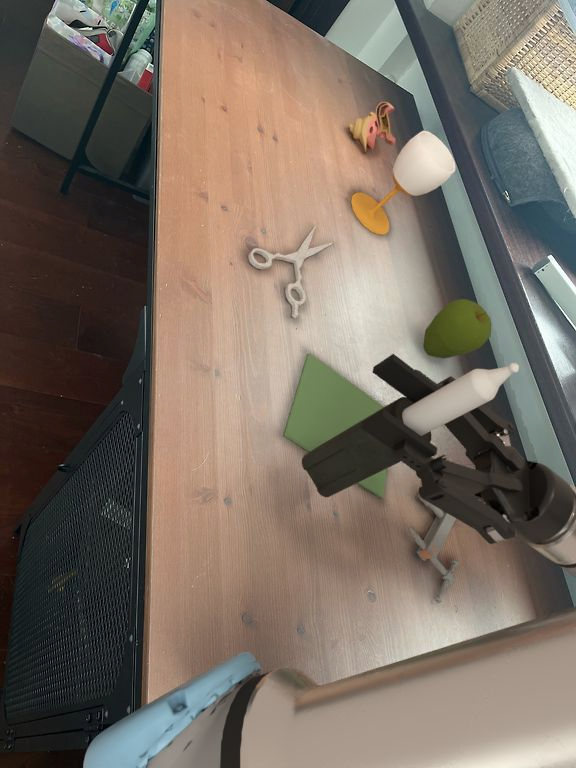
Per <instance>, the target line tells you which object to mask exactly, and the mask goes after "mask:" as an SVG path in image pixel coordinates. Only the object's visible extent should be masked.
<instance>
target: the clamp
mask: <svg viewBox="0 0 576 768" xmlns="http://www.w3.org/2000/svg"><path fill="white" fill-rule="evenodd" d="M441 494H442V493H441ZM417 497H418V498H419V499H420V501H421V502H422V503H423V504H424V506H425V507H429V508H430V509H431V510H432V512H433V513H434V515H436V516H435V518H434V520H433V521H432V523H431V525H430V527H429V529H428V530H427V532H426V534H425V536H424V538H423V539H422V537H421V536H420V535H419V534H417V532H415V530H413V528H412V527H411V526H410V527H408V528H407V531H408V532H409V534H410V535H411V537H412V538H413V540H414V541H415V543H416V544H417V545H418V548H417V550H416V554H417V555H418V557H419V558H420V559H421V560H422V561H423V562H426V561H428V560H430V561H431V562H432V564H433V565H434V566H435V567H436V569H437V570H438V571H439V572H440V574H441V575H440V577H441V578H442V579H443V582H442V584H441V585H442V586H441V587H440V590H439V592H438V594H437V596H435V597H434V598H433V601H434V603H436V604H437V605H440V604H442V603H443V599H442V598H443V596H444V594H445V591H446V589H447V587H448V585H452V584H454V583H455V581H456V577H455V575H454V572H455V569H456V568H457V567H459V565H460V563H459V562H458V560H455V559H453V560H451V562H450V564H451V566H450V568H449V569H446V567H445V566H444V564H442V562H441V561H440V560H439V558H438V555H439V553H440V551H441V549H442V547H443V545H444V544H445V541H446V540H447V538H448V536H449V534H450V531H451V530H452V529H453V528H454V526H455V525H454V524H455V522H456V520H457V519H456V518H454V517H453V516H451V515H449V514H448V513H446V512H444V511H442V510H441V509H439V508H437V507H436V506H434V505H432V504H430V503H429V502H427V501H425V500H424V499H422V498H421V497H420V495H419V492H418V493H417Z"/></svg>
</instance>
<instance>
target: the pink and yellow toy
mask: <svg viewBox="0 0 576 768" xmlns="http://www.w3.org/2000/svg"><path fill="white" fill-rule="evenodd" d="M375 109H376V110H375V112H373V111H370V112H369V113H368V115H366V116H365V117H363V118H362V117H357V118H356V119H355V121H354V122H353V123H349V131H350V132H351V133H352V136H353V139H354V140H355V141H358V140H359V141H360V143H361V145H362V147H363V150H364V154H366V152H367V145H368V146H369V148H370V149H371V150H372V151H373V150H374V148H375V142H376V138H377V137H381V138H382V139H384V141H385V143H386V144H388V145H390V146H395V144H396V141H397V139H396V137H394V136H393V134H392V133H391V123H390V119H389V114H392V113H393V112H394V111H395V109H396V108H395V107H394V106H393V105H392V104H391V103H389V102H387V101H381V102H379V104H378V105H377V106H376V108H375Z"/></svg>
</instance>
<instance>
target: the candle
mask: <svg viewBox="0 0 576 768" xmlns="http://www.w3.org/2000/svg"><path fill="white" fill-rule="evenodd" d="M519 370H520V365H519V364H518V363H516V362H510V364H508V365H506V366H502V367H497V368H493V369H492V368H491V369H486V368H474V369H472V370H470V371H468V372H467V373H465V374H463V375H461V376H460V377H458V378H455V379H456V380H455V381H453V382H451V383H449V384H448V385H446V386H444V387H442V388H441V389H439V390H437V391H435V392H434V393H432V394H430V395H428V396H427V397H425V398H423V399H421V400H420V401H418V402H416V403H414V402H413V401H411V400H410V399H408V398H406V397H405V396H401V397H398V398H397V399H395V400H394V401H392V402H391V403H388V404H387V405H385V406H384V408H382V409H380V410H379V411H381V410H383V409H384V410H385V411H387V412H388V413H390V414H391V415H392V416H394V417H395V418H397V419H398V420H399V421H401V422H402V423H403V424H405V425H406V426H408V427H409V428H410V429H412V430H413V431H415V432H416V433H417V434H419V435H420V436H422V437H423V438H424V439H426V440H427V441H429V442H430V443H431V441H432V438H433V435H432V432H433V431H434V430H436V429H438V428H439V427H442V426H445V425H444V424H446V423H448V422H449V421H451V420H453V419H455V418H457V417H459V416H461V415H463V414H465V413H467V412H469V411H471V410H473V409H475V408H477V407H479V406H480V405H482V404H486V403H488V402H490V401H492V400H494V399H495V397H496V395H497V393H498V391H499V389H500V387H501V386H502V385H503V384H504V383H505V382H506V381H507V379H509V377H510V376H511V375H512V374H516V373H518V372H519ZM379 411H377V412H375V413H373V414H372V415H370V416H368V417H367V418H365V419H363V420H362V421H364V420H366V419H368V418H369V417H371V416H373V415H374V414H376V413H378V412H379ZM362 421H360V422H358V423H357V424H355V425H353V426H352V427H350V428H348V429H347V430H345V431H343V432H341V433H340V434H338V435H336V436H335V437H333V438H331V439H330V440H328V441H326V442H325V443H323V444H321V445H320V446H318V447H316V448H315V449H313V450H312V451H310V452H307V453H306V454H304V455H303V456H302V457H301V466H302V468H303V470H304V471H306V473H307V475H308V476H309V478H310V479H311V481H312V483H313V484H314V486H315V488H316V492H317V493H318V494H319V495H320V496H321V497H323V498H330V497H332V496H334V495H336V494H337V493H340V492H342V491H344V490H346V489H348V488H350V487H352V486H354V485H356V484H358V482H360V481H362V480H364V479H366V478H368V477H370V476H372V475H374V474H376V473H378V472H381V471H383V470H385V469H387V470H388V469H389V468H392V466H395V465H397V464H399V463H401V462H402V461H400V460H398V459H397V458H396V457H395V456H394V454H393V450H392V449H391V448H389V447H388V446H386V445H385V444H383V443H382V442H380V441H379V440H378V439H376V438H375V437H373V436H372V435H370V434H369V433H367V432H366V431H365V430H363V429H362V428H361V426H362Z"/></svg>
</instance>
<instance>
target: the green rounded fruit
mask: <svg viewBox="0 0 576 768" xmlns="http://www.w3.org/2000/svg"><path fill="white" fill-rule="evenodd" d="M492 326H493V325H492V320H491V317H490V315H489V314H488V313H487V311H486V310H485V309H484V308H483V307H482V306H481V305H480V304H479V303H477V302H475V301H474V300H469V299H466V298H460V299H455V300H451V301H450V302H448V303H447V304H446V305H445V306H444V307H443V308H442V309H440V311H438V312H437V314H436V315H435V316H434V317H433V319H432V320H431V322H430V323H429V325H428V326H426V329H425V330H424V336H423V342H422V347H423V349H424V351H425V353H426V354H427V355H428V356H430V357H434V358H439V359H448V358H453V357H457V356H461V355H466V354H468V353H471V352H473V351H475V350H479V349H481V348H482V346H483V345H485V343H486V342H487V341H488V340H489V339H490V338H491V335H492Z"/></svg>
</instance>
